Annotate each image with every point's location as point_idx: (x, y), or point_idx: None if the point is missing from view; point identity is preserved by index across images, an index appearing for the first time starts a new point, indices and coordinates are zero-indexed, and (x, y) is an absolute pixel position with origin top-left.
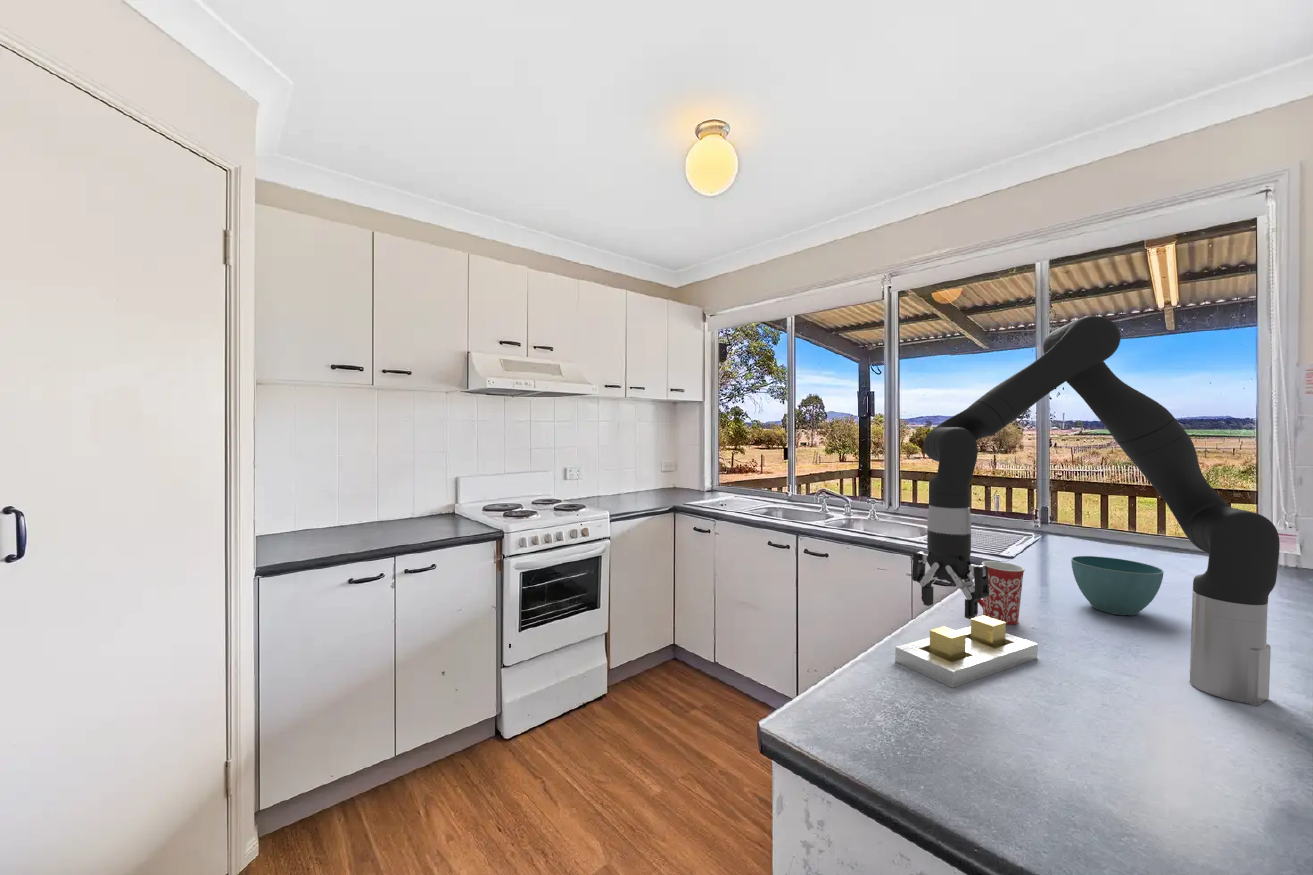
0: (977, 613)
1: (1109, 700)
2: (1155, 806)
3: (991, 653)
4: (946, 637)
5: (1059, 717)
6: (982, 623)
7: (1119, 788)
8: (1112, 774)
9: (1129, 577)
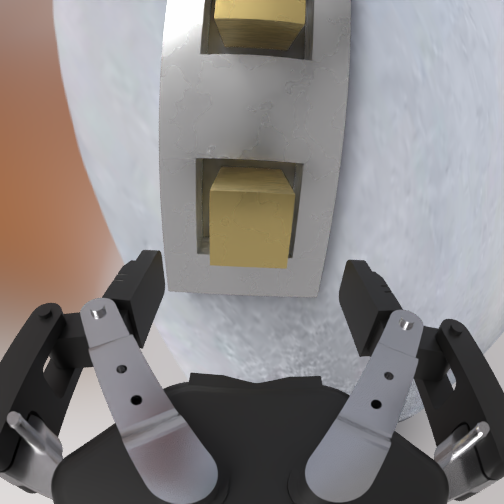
0: (382, 279)
1: (478, 87)
2: (493, 313)
3: (324, 106)
4: (269, 265)
5: (450, 222)
6: (262, 20)
7: (479, 314)
8: (479, 299)
9: None
